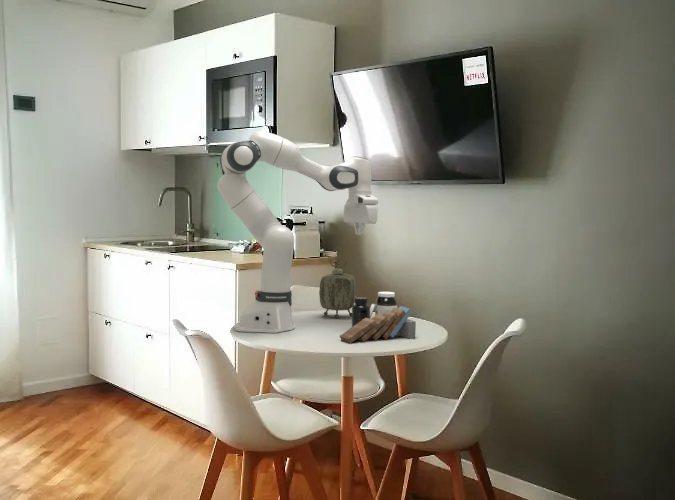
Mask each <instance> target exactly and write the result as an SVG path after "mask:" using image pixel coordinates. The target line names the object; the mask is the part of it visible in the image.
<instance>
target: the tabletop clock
mask: <svg viewBox="0 0 675 500" xmlns="http://www.w3.org/2000/svg"><path fill="white" fill-rule="evenodd" d="M336 259H337V260H343V261H344V263H345V264H342V265H340V264H339V263H337V264H336V265H335V264H332V261H333V260H336ZM347 263H348V262H347V260H346V259H345V258H343V257H341V256H335V257H333V258H330V261H329V265H330V266H332V267H334V269H333V270H332V271H331V273H328V274H326V275H324V276H322V277H321V279H320V282H319V283H320V284H319V292H318V294H319V295H318V296H319V303H320V306H321V308H323V309H325V311H324V312H323V315H324V316H328V314H329V313H328V311H329V310H330V311H331V310H332V311H335V313H336V314H335V315H334V317H335V319H339V317H340V316H339V314H338V312H339V311H348V316H349V317H351V318H352V311H350V309H351V310H352V307H353V305H355V298H357V282H356V277H355V276H354V275H352V274H349V273H348V274H347V273H345V271H344V269H343V268H344V267H346V265H347Z"/></svg>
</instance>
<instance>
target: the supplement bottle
mask: <svg viewBox="0 0 675 500" xmlns="http://www.w3.org/2000/svg"><path fill="white" fill-rule="evenodd" d="M368 303H369V302H368V297H365V296H363V297H361V296H359V297H357V296H356V298H355V303H354V305H353V307H352V308H351V313H352V317H351V328H352V327H353V326H354V325H356V324H357V323H359V322H360V321H362V320H363V319H365V318H369V319H371V318H370V307H371V306H369V304H368Z"/></svg>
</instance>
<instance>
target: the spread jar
mask: <svg viewBox="0 0 675 500" xmlns="http://www.w3.org/2000/svg"><path fill="white" fill-rule="evenodd" d="M395 295H396V293H395V292H393V291H378V292H377V297H376V299H375V302H374V303H371V305H370V306H369V307H370V319H372V315H373V313H374V316H375V315H376V314H378V315H382V314H383V313H384V312H385V311H386V310H387V311H390V312H391V310H392V309H393V308H397V309H398V302H397V299H396V297H395Z"/></svg>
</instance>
